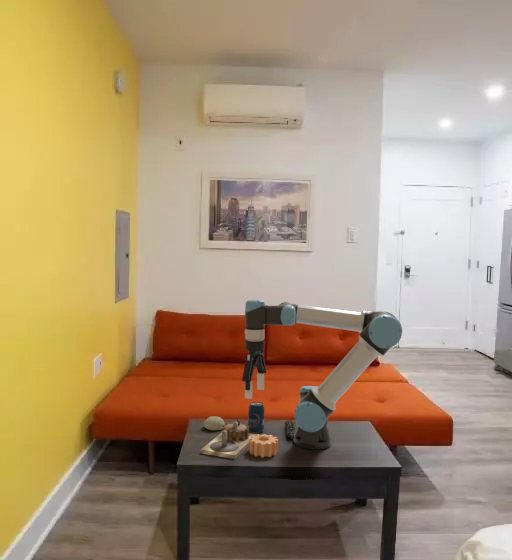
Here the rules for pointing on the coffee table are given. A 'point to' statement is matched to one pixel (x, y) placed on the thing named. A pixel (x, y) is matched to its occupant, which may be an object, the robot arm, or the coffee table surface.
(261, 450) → the loose gear
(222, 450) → the gear board
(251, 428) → the soda can
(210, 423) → the sea urchin shell
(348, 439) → the coffee table surface
